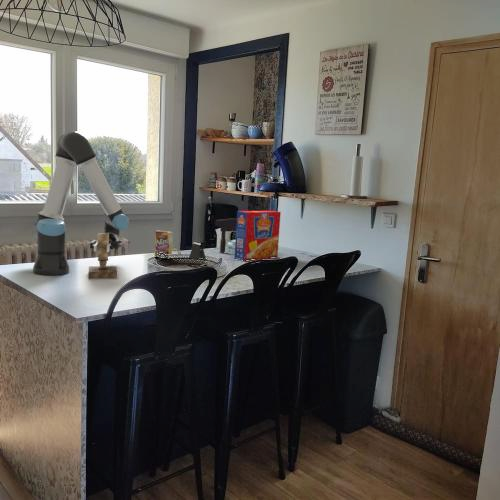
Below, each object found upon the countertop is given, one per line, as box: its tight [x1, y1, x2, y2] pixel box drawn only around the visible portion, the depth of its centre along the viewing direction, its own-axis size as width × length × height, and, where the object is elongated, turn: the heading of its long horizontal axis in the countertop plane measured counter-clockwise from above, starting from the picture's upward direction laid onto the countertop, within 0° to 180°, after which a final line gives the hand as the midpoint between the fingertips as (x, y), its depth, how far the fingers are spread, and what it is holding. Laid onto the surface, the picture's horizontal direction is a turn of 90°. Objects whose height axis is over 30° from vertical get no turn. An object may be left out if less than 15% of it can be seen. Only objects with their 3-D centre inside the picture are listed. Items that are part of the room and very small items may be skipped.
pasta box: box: [233, 210, 282, 262], centre depth 287 cm, size 28×8×28 cm, turn 134°
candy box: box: [154, 230, 174, 257], centre depth 269 cm, size 9×4×15 cm, turn 72°
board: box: [88, 265, 118, 279], centre depth 220 cm, size 12×12×3 cm
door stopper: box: [188, 241, 207, 260], centre depth 256 cm, size 9×6×12 cm, turn 135°
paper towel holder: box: [214, 217, 237, 254], centre depth 309 cm, size 16×21×33 cm
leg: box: [97, 232, 109, 267], centre depth 218 cm, size 5×5×15 cm
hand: (101, 248), depth 213 cm, fingers closed on leg, 5 cm apart
